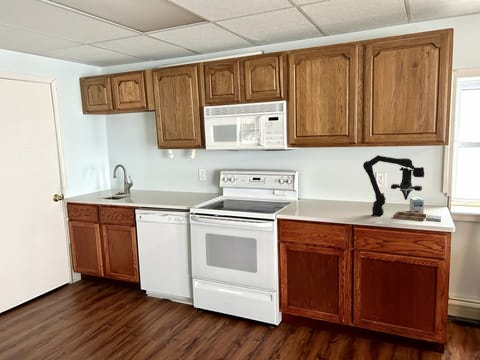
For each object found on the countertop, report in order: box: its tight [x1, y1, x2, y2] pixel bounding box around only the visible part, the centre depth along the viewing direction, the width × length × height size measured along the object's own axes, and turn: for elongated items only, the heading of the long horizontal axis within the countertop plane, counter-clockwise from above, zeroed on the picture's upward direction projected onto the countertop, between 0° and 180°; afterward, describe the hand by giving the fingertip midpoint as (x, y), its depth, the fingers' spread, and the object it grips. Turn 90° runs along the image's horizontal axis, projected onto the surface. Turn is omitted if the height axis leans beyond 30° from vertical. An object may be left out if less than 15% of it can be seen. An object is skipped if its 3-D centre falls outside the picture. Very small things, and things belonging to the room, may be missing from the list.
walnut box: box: [392, 211, 427, 222], centre depth 241 cm, size 18×12×3 cm, turn 55°
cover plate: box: [425, 214, 442, 223], centre depth 234 cm, size 8×8×3 cm
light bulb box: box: [409, 196, 425, 214], centre depth 255 cm, size 11×7×11 cm, turn 170°
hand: (405, 199), depth 246 cm, fingers closed
